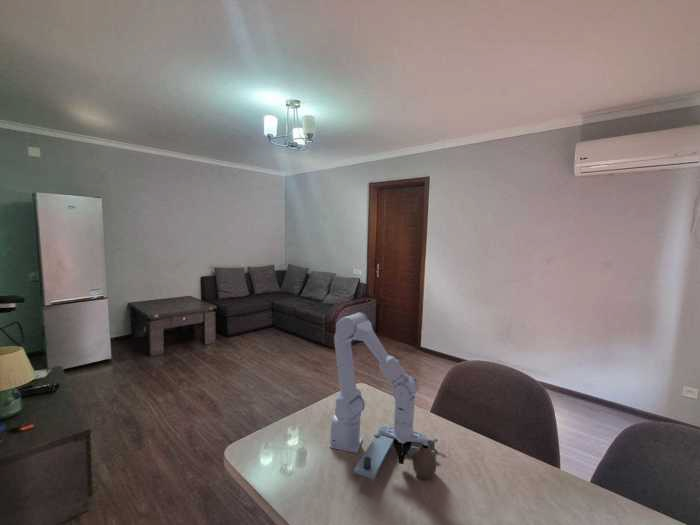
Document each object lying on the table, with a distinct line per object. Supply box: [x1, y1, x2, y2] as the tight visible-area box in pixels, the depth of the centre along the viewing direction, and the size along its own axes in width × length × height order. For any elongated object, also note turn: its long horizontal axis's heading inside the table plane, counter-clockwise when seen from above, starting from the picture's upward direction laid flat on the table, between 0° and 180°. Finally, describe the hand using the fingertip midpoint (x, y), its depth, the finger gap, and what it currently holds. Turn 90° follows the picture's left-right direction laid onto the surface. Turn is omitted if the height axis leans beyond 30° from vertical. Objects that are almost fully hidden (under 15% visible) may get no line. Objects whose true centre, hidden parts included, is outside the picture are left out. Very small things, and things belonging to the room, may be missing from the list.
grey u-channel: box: [382, 435, 439, 457], centre depth 105 cm, size 20×6×4 cm, turn 75°
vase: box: [412, 444, 438, 480], centre depth 93 cm, size 7×7×9 cm
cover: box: [353, 431, 393, 480], centre depth 96 cm, size 18×6×4 cm, turn 155°
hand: (401, 461), depth 95 cm, fingers closed
